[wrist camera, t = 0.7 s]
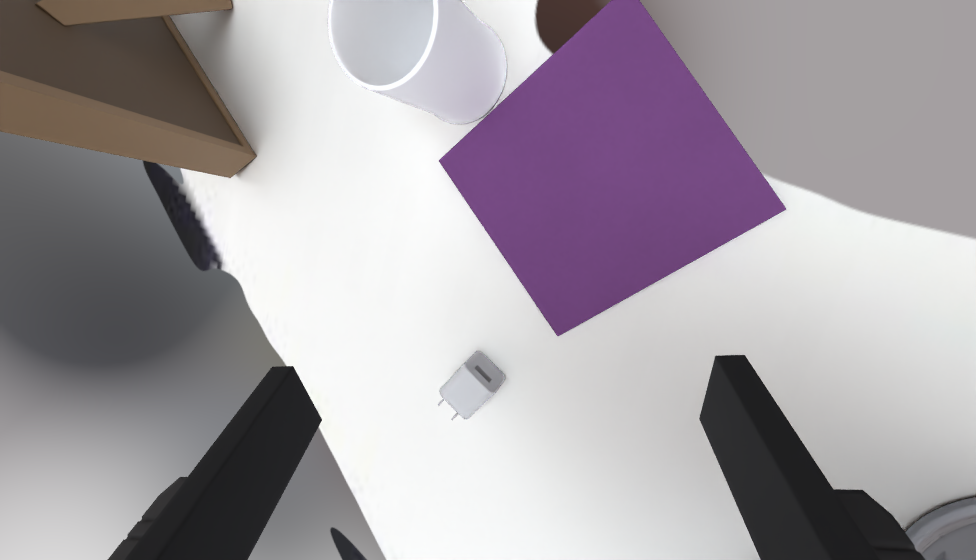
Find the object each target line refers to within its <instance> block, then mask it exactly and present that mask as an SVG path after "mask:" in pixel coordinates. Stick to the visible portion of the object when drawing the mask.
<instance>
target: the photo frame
mask: <svg viewBox="0 0 976 560" xmlns="http://www.w3.org/2000/svg"><path fill="white" fill-rule="evenodd" d="M230 9H232V4H231V0H0V131H1V132H6V133H11V134H16V135H21V136H26V137H30V138H35V139H41V140H45V141H51V142H55V143H60V144H65V145H70V146H75V147H80V148H85V149H90V150H95V151H100V152H105V153H110V154H114V155H119V156H124V157H129V158H134V159H139V160H144V161H149V162H154V163H159V164H164V165H169V166H174V167H179V168H184V169H189V170H194V171H198V172H203V173H208V174H213V175H218V176H223V177H228V178H231V177H232V176H233V175H235V174H236V173H237V172H238V171H239V170H241V169H242V168H243V167H244V166H246V165H247V164H248V163H249V162H250V161H252V160H253V159H254V158H255V157H256V155H255V153H254V152H253V150H252V148H251V147H250V145H249V144H248V142H247V140H246V139H245V137H244V136H243V134H242V132H241V131H240V129H239V127H238V126H237V124H236V123H235V121H234V119H233V118H232V116H231V115H230V113H229V111H228V110H227V108H226V107H225V105H224V103H223V102H222V100H221V99H220V97H219V95H218V94H217V92H216V91H215V89H214V87H213V86H212V84H211V83H210V81H209V79H208V78H207V76H206V74H205V73H204V71H203V70H202V68H201V66H200V65H199V63H198V62H197V60H196V58H195V57H194V55H193V54H192V52H191V50H190V49H189V47H188V46H187V44H186V42H185V41H184V39H183V38H182V36H181V34H180V33H179V31H178V30H177V28H176V26H175V25H174V23H173V22H172V20H171V18H170V17H169V16H171V15H180V14H190V13H200V12H210V11H220V10H230Z"/></svg>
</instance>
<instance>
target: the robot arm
mask: <svg viewBox="0 0 976 560" xmlns="http://www.w3.org/2000/svg"><path fill="white" fill-rule="evenodd" d="M699 419H700V421H701V423H702V426H703V428H704V430H705V433H706V435H707V437H708V440H709V442H710V444H711V446H712V449H713V451H714V453H715V456H716V458H717V460H718V463H719V465H720V467H721V469H722V472H723V474H724V476H725V479H726V481H727V483H728V485H729V488H730V490H731V492H732V495H733V497H734V499H735V502H736V504H737V506H738V508H739V511H740V513H741V515H742V518H743V520H744V522H745V525H746V527H747V529H748V531H749V534H750V536H751V538H752V541H753V543H754V545H755V547H756V550H757V552H758V554H759V557H760V559H761V560H976V497H973V498H968V499H964V500H961V501H957V502H954V503H951V504H948V505H945V506H943V507H941V508H938V509H936V510H934V511H932V512H930V513H929V514H927V515H925V516H923V517H922V518H921V519H919V520H918V521H916V522H915V523H914V524H913V525H912V526H911V527H910V528H909V529H908V530H907V531H906V532H904V530H903V529H902V528H901V526H900V525H899V524H898V522H897V521H896V520H895V518H894V517H893V516H892V515H891V514H890V513H889V512H888V511H887V510H885V509H884V508H883V507H882V506H881V505H880V504H878V503H877V502H876V501H875V500H874V499H873V498H871V497H870V496H869V495H868V494H867V493H866V492H864V491H863V490H838V489H833V488H832V487H831V485H830V484H829V482H828V481H827V479H826V478H825V476H824V475H823V473H822V472H821V470H820V468H819V467H818V465H817V464H816V462H815V461H814V459H813V458H812V456H811V455H810V453H809V452H808V450H807V449H806V447H805V446H804V444H803V443H802V441H801V440H800V438H799V437H798V435H797V434H796V432H795V431H794V429H793V428H792V426H791V425H790V423H789V421H788V420H787V418H786V417H785V415H784V414H783V412H782V411H781V409H780V408H779V406H778V405H777V403H776V402H775V400H774V399H773V397H772V396H771V394H770V393H769V391H768V390H767V388H766V387H765V385H764V384H763V382H762V381H761V379H760V378H759V376H758V375H757V373H756V371H755V370H754V368H753V367H752V365H751V364H750V362H749V361H748V359H747V358H746V356H745V355H725V356H715V360H714V364H713V367H712V371H711V375H710V379H709V383H708V387H707V391H706V395H705V399H704V403H703V407H702V411H701V414H700V418H699ZM321 421H322V419H321V417H320V415H319V413H318V411H317V410H316V408H315V406H314V404H313V402H312V400H311V399H310V397H309V395H308V393H307V391H306V389H305V387H304V386H303V384H302V382H301V380H300V378H299V376H298V374H297V373H296V371H295V369H294V367H293V366H285V367H272V368H271V369H270V371H269V372H268V373H267V374H266V376H265V377H264V378H263V380H262V381H261V382H260V383H259V385H258V386H257V387H256V389H255V390H254V391H253V393H252V394H251V395H250V397H249V398H248V399H247V400H246V402H245V403H244V404H243V406H242V407H241V409H240V410H239V411H238V412H237V414H236V415H235V416H234V417H233V419H232V420H231V422H230V423H229V424H228V425H227V426H226V428H225V429H224V430H223V432H222V433H221V434H220V436H219V437H218V438H217V440H216V441H215V442H214V443H213V445H212V446H211V447H210V449H209V450H208V451H207V453H206V454H205V455H204V457H203V458H202V459H201V460H200V462H199V463H198V464H197V466H196V467H195V469H194V470H193V471H192V472H191V474H190V475H189V476H188V477H180V478H179V479H177V480H176V481H175V482H174V483H173V484H172V485H170V486H169V487H168V488H167V489H166V490H165V491H164V492H162V493H161V494H160V495H159V496H158V497H157V499H156V500H155V501H154V502H153V504H152V505H151V506H150V507H149V509H148V510H147V511H146V512H145V514H144V515H143V516H142V520H141V521H140V522H137V524H136V525H135V526H134V527H133V529H132V530H131V531H130V533H129V534H128V537H127V539H126V540H123V541H122V542H121V544H120V545H119V546H118V547H117V549H116V550H115V551H114V553H113V554H112V555H111V556H110V558H109V559H108V560H248V558H249V556H250V554H251V552H252V550H253V548H254V546H255V545H256V543H257V541H258V539H259V537H260V535H261V533H262V531H263V530H264V528H265V526H266V524H267V522H268V520H269V518H270V516H271V514H272V513H273V511H274V509H275V507H276V505H277V503H278V501H279V499H280V498H281V496H282V494H283V492H284V490H285V488H286V487H287V485H288V483H289V481H290V479H291V477H292V475H293V473H294V471H295V470H296V468H297V466H298V464H299V462H300V460H301V458H302V457H303V455H304V453H305V450H306V449H307V447H308V445H309V443H310V442H311V440H312V438H313V436H314V434H315V432H316V430H317V428H318V427H319V425H320V423H321Z"/></svg>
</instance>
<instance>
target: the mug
mask: <svg viewBox="0 0 976 560" xmlns="http://www.w3.org/2000/svg"><path fill="white" fill-rule="evenodd" d="M328 32H329V39H330V43H331V47H332V50H333V53H334V56H335V58H336V60H337V62H338V64H339V66H340V67H341V69H342V70H343V71H344V73H345V74H346V75H347V76H348V77H349V78H350V79H351V80H352V81H353V82H355V83H356V84H358V85H360V86H361V87H363V88H366V89H368V90H371V91H374V92H376V93H379V94H382V95H384V96H387V97H390V98H392V99H395V100H398V101H400V102H403V103H406V104H408V105H411V106H414V107H416V108H419V109H422V110H424V111H427V112H430V113H432V114H434V115H435V116H437V117H438V118H440V119H441V120H443V121H446V122H448V123H452V124H466V123H470V122H473V121H476V120H478V119H479V118H481V117H483V116H484V115H485V114H486V113H488V112H489V111H490V110H491V108H492V107H493V106H494V105H495V103H496V102H497V100H498V99H499V97H500V95H501V93H502V90H503V87H504V84H505V80H506V73H507V62H506V55H505V51H504V47H503V45H502V42H501V40H500V39H499V37H498V35H497V34H496V33H495V31H494V30H493V29H492V28H491V27H490V26H488V25H487V24H486V23H484V22H482V21H480V20H479V19H478V18H477V17H476V16H475V15H474V14H473V13H472V12H471V11H470V9H469V8H468V7H467V6H466V5H465V4H464V3H463V2H462V1H461V0H330V2H329V9H328Z"/></svg>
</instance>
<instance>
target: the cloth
mask: <svg viewBox="0 0 976 560" xmlns="http://www.w3.org/2000/svg"><path fill="white" fill-rule="evenodd" d="M439 162H440V163H441V165H442V166H443V168H444V169H445V171H446V172H447V174H448V175H449V177H450V178H451V180H452V181H453V183H454V184H455V186H456V187H457V188H458V190H459V191H460V193H461V194H462V196H463V197H464V199H465V200H466V202H467V203H468V205H469V206H470V208H471V209H472V211H473V212H474V214H475V215H476V217H477V218H478V220H479V221H480V222H481V224H482V225H483V227H484V228H485V230H486V231H487V233H488V234H489V236H490V237H491V239H492V240H493V242H494V243H495V245H496V246H497V248H498V249H499V251H500V252H501V253H502V255H503V256H504V258H505V259H506V261H507V262H508V264H509V265H510V267H511V268H512V270H513V271H514V273H515V274H516V276H517V277H518V279H519V280H520V282H521V283H522V285H523V286H524V287H525V289H526V290H527V292H528V293H529V295H530V296H531V298H532V299H533V301H534V302H535V304H536V305H537V307H538V308H539V310H540V311H541V313H542V314H543V316H544V317H545V318H546V320H547V321H548V323H549V324H550V326H551V327H552V329H553V330H554V332H555V333H556V335H557V336H560V335H561V334H563V333H565V332H567V331H569V330H570V329H572V328H574V327H576V326H578V325H579V324H581V323H583V322H585V321H587V320H588V319H590V318H592V317H594V316H595V315H597V314H599V313H601V312H603V311H604V310H606V309H608V308H610V307H612V306H613V305H615V304H617V303H619V302H621V301H622V300H624V299H626V298H628V297H630V296H631V295H633V294H635V293H637V292H639V291H640V290H642V289H644V288H646V287H648V286H649V285H651V284H653V283H655V282H657V281H658V280H660V279H662V278H664V277H666V276H667V275H669V274H671V273H673V272H675V271H676V270H678V269H680V268H682V267H684V266H685V265H687V264H689V263H691V262H693V261H694V260H696V259H698V258H700V257H702V256H703V255H705V254H707V253H709V252H711V251H712V250H714V249H716V248H718V247H719V246H721V245H723V244H725V243H727V242H728V241H730V240H732V239H734V238H736V237H737V236H739V235H741V234H743V233H745V232H746V231H748V230H750V229H752V228H754V227H755V226H757V225H759V224H761V223H763V222H764V221H766V220H768V219H770V218H772V217H773V216H775V215H777V214H779V213H781V212H782V211H784V210H786V208H785V206H784V205H783V203H782V202H781V201H780V199H779V198H778V196H777V195H776V194H775V192H774V191H773V189H772V188H771V186H770V185H769V184H768V182H767V181H766V179H765V178H764V176H763V175H762V174H761V172H760V171H759V170H758V168H757V167H756V165H755V164H754V162H753V161H752V159H751V158H750V157H749V155H748V154H747V153H746V151H745V150H744V148H743V147H742V145H741V144H740V142H739V141H738V140H737V138H736V137H735V135H734V134H733V132H732V131H731V130H730V128H729V127H728V126H727V124H726V123H725V121H724V120H723V118H722V117H721V115H720V114H719V113H718V111H717V110H716V108H715V107H714V106H713V104H712V103H711V101H710V100H709V98H708V97H707V96H706V94H705V93H704V91H703V90H702V88H701V87H700V86H699V84H698V83H697V81H696V80H695V79H694V77H693V76H692V75H691V73H690V71H689V70H688V69H687V67H686V66H685V64H684V63H683V61H682V60H681V59H680V57H679V56H678V54H677V53H676V52H675V50H674V49H673V47H672V46H671V44H670V43H669V42H668V40H667V39H666V37H665V36H664V35H663V33H662V32H661V30H660V29H659V28H658V26H657V25H656V23H655V22H654V20H653V19H652V17H651V16H650V15H649V13H648V12H647V10H646V9H645V8H644V6H643V5H642V3H641V2H640V0H611V1H610V2H609V3H608V4H607V5H606V6H605V7H604V8H603V9H602V10H600V11H599V12H598V14H596V15H595V16H594V17H593V18H592V19H591V20H590V21H589V22H588V23H587V24H585V25H584V26H583V27H582V28H581V29H580V30H579V31H578V32H577V33H576V34H575V35H574V36H573V37H572V38H571V39H569V40H568V41H567V42H566V43H565V44H564V45H563V46H562V47H561V48H560V49H558V50H557V51H556V52H555V53H554V54H553V55H552V56H551V57H550V58H549V59H548V60H547V61H546V62H544V63H543V64H542V65H541V66H540V67H539V68H538V69H537V70H536V71H535V72H534V73H533V74H532V75H530V76H529V77H528V78H527V79H526V80H525V81H524V82H523V83H522V84H521V85H520V86H519V87H518V88H516V89H515V90H514V91H513V92H512V93H511V94H510V95H509V96H508V97H507V98H506V99H505V100H504V101H502V102H501V103H500V104H499V105H498V106H497V107H496V108H495V109H494V110H493V111H492V112H491V113H490V114H488V115H487V116H486V117H485V118H484V119H483V120H482V121H481V122H480V123H479V124H478V125H477V126H476V127H474V128H473V129H472V130H471V131H470V132H469V133H468V134H467V135H466V136H465V137H464V138H463V139H462V140H460V141H459V142H458V143H457V144H456V145H455V146H454V147H453V148H452V149H451V150H450V151H449V152H448V153H446V154H445V155H444V156H443V157H442V158H441V159H440V160H439Z"/></svg>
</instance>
